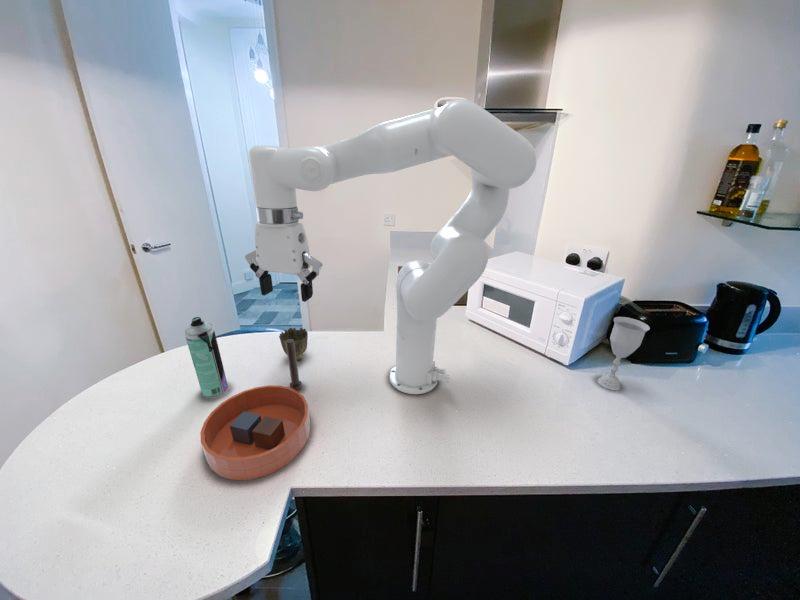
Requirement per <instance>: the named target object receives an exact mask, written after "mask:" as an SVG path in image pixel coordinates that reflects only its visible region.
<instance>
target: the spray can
mask: <svg viewBox="0 0 800 600" xmlns="http://www.w3.org/2000/svg"><path fill="white" fill-rule="evenodd" d="M184 336H185V340H186V344H187V347H188V350H189V354H190V357H191V361H192V364H193V368H194V371H195V374H196V378H197V382H198V384H199V388H200V392H201V395H202V397H203V398H206V399H214V398H218V397H220V396H222V395H224V394H225V393H226V392H228V390H229V384H228V381H227V377H226V372H225V369H224V363H223V359H222V356H221V352H220V348H219V344H218V340H217V335H216V331H215V328H214V327H213V324H212V323H210V322H206V321H204V320H202V318H201V317H200V316H195V317H193V318H192V319H191V322H190V324H189V326H187V327H186V328H185V329H184Z"/></svg>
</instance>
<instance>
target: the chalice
mask: <svg viewBox="0 0 800 600" xmlns="http://www.w3.org/2000/svg"><path fill="white" fill-rule="evenodd" d="M613 322H614V324H613V326H612V327H613V328H612V330H611V333H610V337H609V341H610V347H611V351H612V354H613V355H614V356H615V359H614V360H613V361H612V363H613V364H612V366H610V367H609V368H610V372H609V373H608V372H607V373H603V374H602V375H601V376H600V377H599V378H597V383H598V384H599V385H600V386H602V387H603V388H604V389H607V390H610V391H618V390H620V389H621V386H620V384H621V383H620V380H619V379H620V378H619V377H618V376H616V373H617V372H618V371H619V365H621V360H622V359H626V358H627V357H629V356H630V355H632V354H633V353H634V352H635V351H637V349H638V348H640V346H641V344H642V342H643V340H644V337H645V335H646V333H647V332H648V331H650V329H651V328H650V326H649V325H648V324H647V323H645V322H643V321H641V320H638V319H635V318H631V317H627V316H615V317H613Z"/></svg>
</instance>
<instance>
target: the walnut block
mask: <svg viewBox="0 0 800 600" xmlns="http://www.w3.org/2000/svg"><path fill="white" fill-rule="evenodd" d="M252 434H253V438H254V442H255V446H256V447H260V448H264V449H268V450H271V449H273V448H275V447H276V446H277V445H278V444H279V442H280V441H281V440H282V438H283V437H284V435H285V432H284V426H283V420H280V419H275V418H271V417H266V416H265V417H264V418H263V419H262V420H261V421H260V422H259V424H258V425H257V426H256V427H255V428H254V429H253V431H252Z"/></svg>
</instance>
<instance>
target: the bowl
mask: <svg viewBox="0 0 800 600" xmlns="http://www.w3.org/2000/svg"><path fill="white" fill-rule="evenodd" d="M243 411H244V412H249V413H253V414H257V415H260V416H261V420H262V419H263V418H264V417H265V416H266V417H271V418H275V419H280V420H283V426H284V432H285V435H284V437H283V438H282V440H281V441H280V442H279V444H278V445H277V446H276V447H275V448H273V449H271V450H268V449H264V448H260V447H256V446H255V442H253V443H252V444H251V445H249V444H245V443H241V442H237V441H233V437H232V433H231V430H230V425H231V424H232V423H233V422H234V421H235V420H236V419H237V418H238V416H239V415H240V414H241V413H242V412H243ZM310 433H311V420H310V411H309V404H308V402H307V400H306V398H305V396H304V394H303V395H302V393H301V392H299V391H296V390H294V389H292V388H290V386H284V385H281V384H280V385H278V384H277V385H269V384H268V385H262V386H255V387H253V388H248V389H246V390H243V391H240V392H239V393H236V394H234V395H232V396H230V397H228V398H226V400H225V401H223V402H221V403H220V404H219V405H217V406H216V408H214V409H213V410H212V411H211V412H210V413H209V415H208V416H207V417H206V418H205V420H204V422H203V425H202V427H201V429H200V444H201V447H202V450H203V454H204V456H205V460H206V462H207V464H208V467H209V468H210V470H211V471H212V472H213V473H215V474H216V475H217V476H219V477H222V478H224V479H228V480H231V481H248V480H254V479H255V480H256V479H258V478H262V477H265V476H267V475H270V474H272V473H274V472H276V471H278V470H280V469H282V468H284V467H286V465H288V464H289V463H291V462H292V461H293V460H294V459H295V458H296V457H297V456H298V455H299V454H300V453H301V452H302V450H303V449H304V447H305V446H306V444H307V442H308V440H309V437H310Z"/></svg>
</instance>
